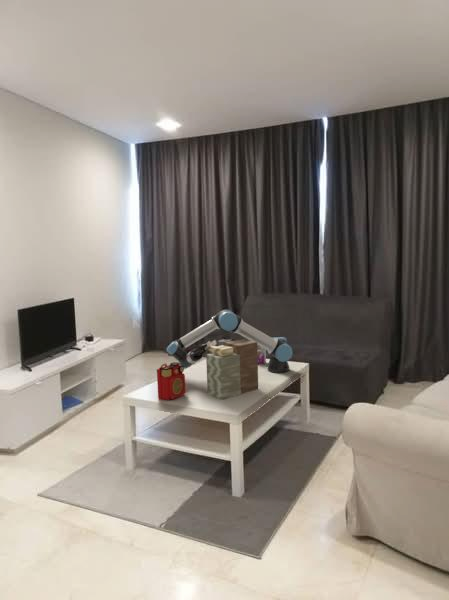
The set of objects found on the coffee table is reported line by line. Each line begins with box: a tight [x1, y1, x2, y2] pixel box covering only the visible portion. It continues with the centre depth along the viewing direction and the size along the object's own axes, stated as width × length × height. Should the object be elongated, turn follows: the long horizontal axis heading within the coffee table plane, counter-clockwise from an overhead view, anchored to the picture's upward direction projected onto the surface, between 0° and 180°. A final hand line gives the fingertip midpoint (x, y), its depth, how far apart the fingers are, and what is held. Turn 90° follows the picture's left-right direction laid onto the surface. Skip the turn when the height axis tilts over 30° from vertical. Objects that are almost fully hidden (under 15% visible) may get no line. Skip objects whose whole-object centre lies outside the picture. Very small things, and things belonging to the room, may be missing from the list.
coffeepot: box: [216, 336, 236, 346], centre depth 352 cm, size 15×9×18 cm, turn 107°
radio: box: [156, 361, 186, 401], centre depth 268 cm, size 16×10×20 cm, turn 148°
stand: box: [205, 338, 259, 400], centre depth 273 cm, size 14×28×29 cm, turn 128°
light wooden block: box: [202, 343, 233, 356], centre depth 273 cm, size 24×8×4 cm, turn 38°
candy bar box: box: [257, 345, 267, 365], centre depth 339 cm, size 11×5×16 cm, turn 71°
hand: (213, 342), depth 274 cm, fingers open, 3 cm apart
